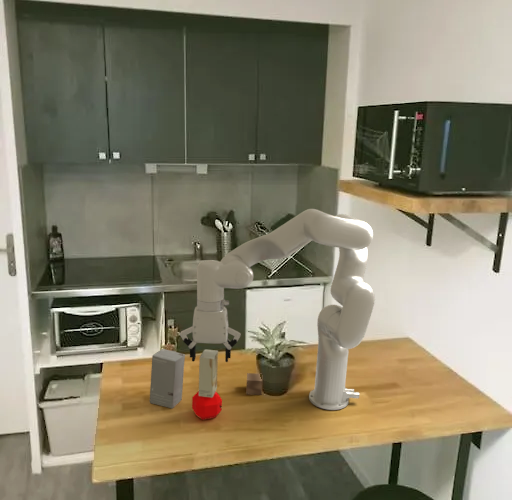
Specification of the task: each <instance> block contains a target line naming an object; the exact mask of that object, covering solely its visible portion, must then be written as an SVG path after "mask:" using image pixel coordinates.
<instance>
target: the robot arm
mask: <svg viewBox="0 0 512 500" xmlns="http://www.w3.org/2000/svg"><path fill="white" fill-rule="evenodd" d="M373 238H374V232H373V229H372V227H371V225H370V224H368V222H365V221H364V220H361V219H358V218H357V217H354V216H353V215H352V216H351V215H348V214H343V213H341V214H336V215H332V214H329V213H326V212H325V211H324V212H323V211H322V210H319V209H317V208H316V209H315V208H308V209H306V210H304V211H302V212H300V213H299V214H297V215H295V216H293V218H290V220H288V221H286V222H285V223H284V224H282V225H280V226H278V227H277V228H276V229H274V230H273V231H270V232H268V233H267V234H263V235H260V236H258V237H256V238H253V239H251V240H248V241H246V242H244V243H242V244H240V245H238V246H237V247H236V248H234V249H232V250H231V251H229V252H228V253H226V254H225V255H224V256H223V257H222V259H221V260H220V261H218V260H213V259H210V260H207V259H206V260H202V261H200V262H199V263H198V265H197V267H196V306H195V307H194V310H193V318H192V326H190V327H188V328H186V329H183V330H182V331H180V333H179V335H180V338H181V339H182V340H183V344H185V345H186V346H187V347H188V348H189V358H191V362H193V363H194V362H195V361H196V351H197V350H196V348H197V347H196V345H197V344H223V345H224V346H225V353H224V354H225V355H224V357H225V363H228V362H229V359H231V357H232V356H231V353H232V351H231V350H232V348H233V347H234V346H235V345H236V344H237V343H238V341H239V340H240V338H241V336H242V335H241V334H242V333H241V332H239V331H238V330H235V329H233V328H232V327H229V316H228V309H227V307H226V306H229V305H230V300H226V299H225V289H233V290H234V289H235V290H236V289H237V290H238V289H239V290H240V289H245V288H247V287H249V286H250V285H251V284H252V282H253V280H254V271H253V269H252V268H251V267H253V266H254V265H256V264H258V263H260V262H263V261H267V260H268V261H269V260H282V259H287V258H288V257H289V256H292V255H293V254H294V253H295V252H297V251H298V250H301V248H303V247H305V246H306V245H308V244H309V243H310V242H314V243H316V244H319V245H324V246H327V247H333V248H338V251H339V253H338V254H339V255H338V256H339V257H338V261H337V264H336V265H337V266H336V268H335V271H334V275H333V279H332V282H331V286H330V294H331V297H332V298H333V299H334V300H335V301H336V302H337V303H338V304H340V305H341V306H340V305H338V304H329V305H326V306H324V307H323V308H322V309H321V311H320V312H319V314H318V317H317V325H316V326H317V335H318V337H317V340H318V342H317V343H318V344H317V354H316V366H315V379H314V389H313V390H310V392H309V394H308V399H309V402H310V403H311V404H312V405H314V406H316V407H317V408H319V409H323V410H328V411H336V410H337V411H338V410H341V409H344V408H346V407H347V406H348V405H349V399H350V398H351V399H359V398H360V392H359V391H355V389H354V388H347V387H346V380H347V379H346V378H347V369H348V359H349V350H351V349H354V348H356V347H357V346H359V345H360V343H361V342H362V341H363V339H364V337H365V335H366V332H367V329H368V325H369V323H370V320H371V317H372V313H373V309H374V306H375V300H376V299H375V293H374V290H373V288H372V286H370V284H369V283H367V282H365V281H364V277H365V273H366V269H367V264H368V261H369V260H368V257H369V255H368V254H369V251H368V247H369V246H370V245H371V244H372V242H373ZM189 334H192V336H191V337H192V339H190V338H189V337H188V335H189ZM229 335H230V336H231V335H232V336H233V338H232V339H231V340H230V339H229V338H228V337H229Z"/></svg>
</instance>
